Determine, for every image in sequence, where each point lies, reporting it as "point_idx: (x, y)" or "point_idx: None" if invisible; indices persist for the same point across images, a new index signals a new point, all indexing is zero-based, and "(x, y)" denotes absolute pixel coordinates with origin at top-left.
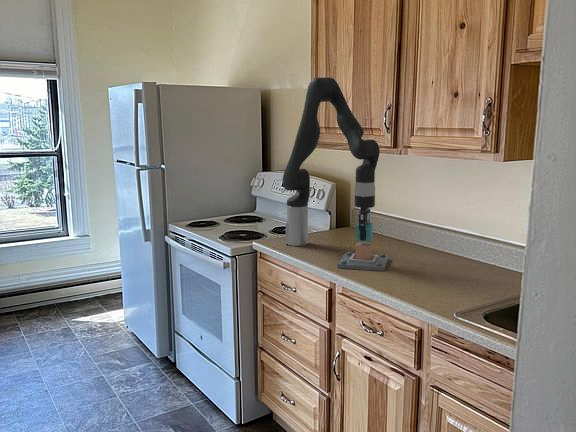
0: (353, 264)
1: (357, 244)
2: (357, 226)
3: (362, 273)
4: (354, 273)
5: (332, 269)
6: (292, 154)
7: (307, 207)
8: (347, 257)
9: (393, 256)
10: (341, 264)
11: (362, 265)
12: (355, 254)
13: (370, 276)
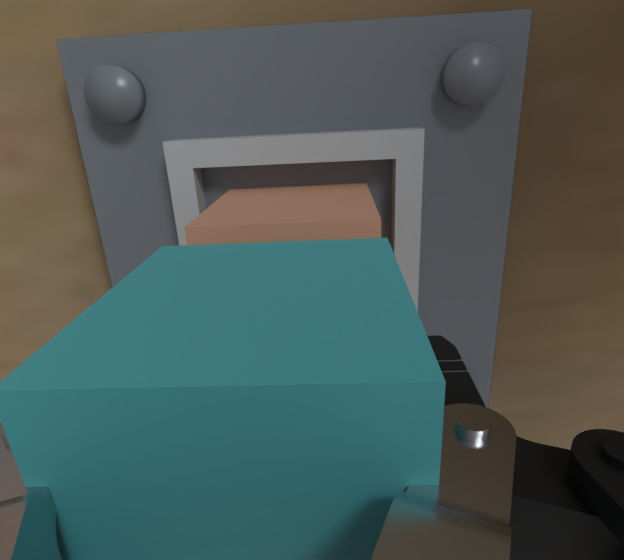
0: (109, 197)
1: (249, 240)
2: (22, 409)
3: (47, 276)
4: (16, 222)
5: (29, 4)
6: None
7: None
8: (334, 83)
9: (589, 415)
10: (68, 84)
11: (114, 274)
12: (213, 203)
13: (8, 337)
